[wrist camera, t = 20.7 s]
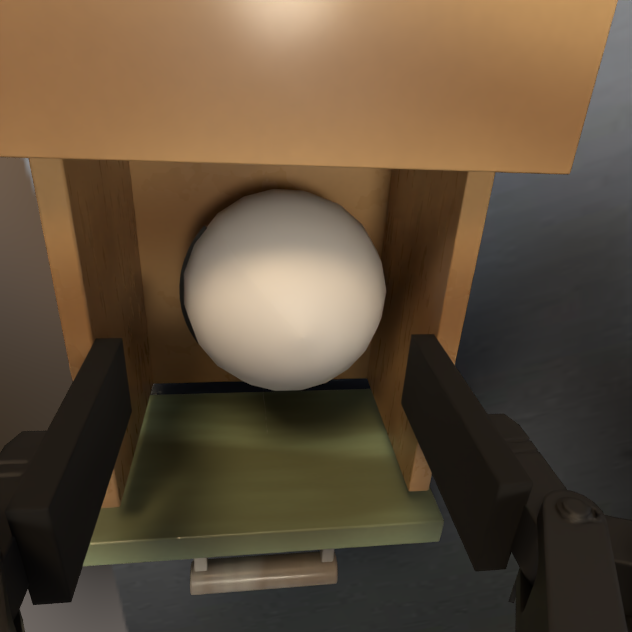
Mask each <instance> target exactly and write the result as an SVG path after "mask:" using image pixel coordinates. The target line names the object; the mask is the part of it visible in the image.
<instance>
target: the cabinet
mask: <svg viewBox="0 0 632 632" xmlns="http://www.w3.org/2000/svg"><path fill="white" fill-rule="evenodd" d="M617 1H618V0H0V157H13V158H46V159H78V160H111V161H144V162H177V163H209V164H242V165H275V166H308V167H341V168H373V169H406V170H439V171H472V172H504V173H537V174H570V172H571V168H572V164H573V161H574V157H575V154H576V150H577V146H578V143H579V139H580V135H581V132H582V128H583V125H584V121H585V117H586V114H587V110H588V106H589V103H590V99H591V96H592V92H593V88H594V85H595V81H596V77H597V74H598V70H599V67H600V63H601V59H602V56H603V52H604V48H605V45H606V41H607V38H608V34H609V30H610V27H611V23H612V19H613V16H614V12H615V9H616V5H617Z"/></svg>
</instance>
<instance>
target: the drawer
mask: <svg viewBox="0 0 632 632" xmlns="http://www.w3.org/2000/svg"><path fill="white" fill-rule="evenodd" d="M29 162H30V168H31V173H32V178H33V183H34V188H35V193H36V198H37V203H38V208H39V213H40V218H41V224H42V229H43V234H44V239H45V244H46V249H47V254H48V259H49V265H50V270H51V275H52V279H53V285H54V290H55V295H56V300H57V305H58V310H59V315H60V320H61V325H62V331H63V336H64V341H65V346H66V351H67V356H68V361H69V366H70V371H71V377H72V382H73V381H74V379H75V377H76V375H77V373H78V371H79V369H80V368H81V366H82V364H83V362H84V360H85V358H86V356H87V354H88V352H89V351H90V349H91V347H92V345H93V343H94V341H95V339H96V338H122V340H123V347H124V355H125V362H126V370H127V377H128V385H129V392H130V400H131V407H132V413H131V416H130V419H129V423H128V426H127V429H126V432H125V435H124V438H123V441H122V444H121V448H120V451H119V454H118V457H117V460H116V463H115V466H114V469H113V473H112V476H111V479H110V482H109V485H108V488H107V491H106V494H105V498H104V501H103V504H102V507H101V510H100V513H99V516H98V519H97V523H96V526H95V529H94V532H93V535H92V538H91V541H90V545H89V548H88V551H87V554H86V557H85V560H84V563H83V566H94V565H108V564H123V563H137V562H151V561H166V560H180V559H194V560H193V561H192V564H191V572H190V591H191V594H192V595H199V594H211V593H224V592H237V591H249V590H262V589H275V588H287V587H300V586H313V585H325V584H335V583H337V579H338V568H337V559H336V554H335V552H334V549H338V548H352V547H366V546H381V545H395V544H409V543H424V542H438V541H439V540H440V536H441V532H442V528H443V524H444V520H443V517H442V515H441V513H440V510H439V508H438V505H437V503H436V501H435V498H434V496H433V494H432V491H431V489H430V486H429V485H430V480H431V476H432V473H431V470H430V468H429V466H428V464H427V461H426V459H425V457H424V455H423V452H422V450H421V448H420V446H419V443H418V441H417V439H416V437H415V434H414V432H413V430H412V427H411V425H410V423H409V421H408V418H407V416H406V414H405V412H404V409H403V407H402V405H401V398H402V392H403V386H404V379H405V373H406V366H407V360H408V353H409V347H410V340H411V334H434V335H435V337H436V338H437V340H438V341H439V343H440V344H441V346H442V347H443V349H444V350H445V351H446V353H447V354H448V356H449V357H450V359H451V360H452V362H453V363H454V365H455V361H456V357H457V352H458V347H459V342H460V338H461V333H462V328H463V323H464V319H465V314H466V309H467V304H468V300H469V295H470V290H471V285H472V281H473V276H474V271H475V266H476V262H477V257H478V252H479V247H480V243H481V238H482V233H483V228H484V224H485V219H486V214H487V209H488V205H489V200H490V195H491V190H492V186H493V181H494V176H495V172H472V171H439V170H406V169H373V168H341V167H308V166H275V165H242V164H209V163H177V162H144V161H111V160H78V159H46V158H29ZM271 189H284V190H301V191H306V192H309V193H312V194H314V195H317V196H319V197H322V198H324V199H327V200H329V201H332V202H334V203H337V204H339V205H341V206H342V207H343V208H344V209H345V210H346V211H348V212H349V213H350V214H351V215H352V216H353V217H354V218H355V219H357V220H358V221H359V222H360V223H361V224H362V225H363V226H364V228H365V230H366V232H367V233H368V235H369V237H370V239H371V241H372V243H373V244H374V246H375V248H376V250H377V252H378V255H379V257H380V260H381V262H382V267H383V273H384V279H385V286H386V295H385V301H384V307H383V313H382V318H381V320H380V323H379V325H378V328H377V330H376V332H375V334H374V335H373V337H372V339H371V341H370V343H369V345H368V347H367V349H366V351H365V352H364V353H363V354H362V355H361V356H360V357H359V358H358V359H357V360H356V361H355V363H354V364H353V365H352V366H351V367H350V368H349V369H348V370H346V371H344V372H343V373H341V374H340V375H338V376H336V377H335V378H333V379H355V378H367V380H368V382H369V385H370V388H371V389H348V390H312V391H276V392H240V393H205V394H169V395H150V394H151V390H152V386H153V384H156V383H196V382H236V381H242V380H240V379H238V378H237V377H235V376H234V375H232V374H230V373H229V372H227V371H225V370H224V369H222V368H220V367H219V366H217V365H216V364H215V363H214V361H213V360H212V359H211V358H210V357H209V356H208V354H207V353H206V352H205V351H204V350H203V349H202V347H201V346H200V345H199V344H198V343H197V342H196V340H195V339H194V337H193V336H192V334H191V333H190V331H189V329H188V327H187V324H186V322H185V319H184V316H183V313H182V309H181V304H180V295H179V283H180V274H181V270H182V266H183V262H184V259H185V257H186V254H187V252H188V249H189V247H190V245H191V244H192V242H193V240H194V238H195V237H196V235H197V234H198V233H199V231H200V230H201V229H202V228H203V226H205V227H207V226H208V225H209V224H210V222H211V221H212V220H213V219H214V217H215V216H216V215H217V214H218V213H219V212H220V211H222V210H224V209H225V208H227V207H228V206H230V205H231V204H233V203H234V202H236V201H238V200H239V199H241V198H242V197H244V196H248V195H252V194H256V193H259V192H263V191H267V190H271ZM263 395H264V396H263ZM264 403H265V404H264ZM265 411H266V412H265ZM266 425H267V426H266ZM267 431H268V432H267ZM309 550H320V551H315V552H301V553H287V554H273V555H258V556H244V557H230V558H216V559H208V558H209V557H223V556H237V555H252V554H266V553H280V552H295V551H309Z"/></svg>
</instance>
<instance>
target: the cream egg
mask: <svg viewBox="0 0 632 632" xmlns="http://www.w3.org/2000/svg"><path fill="white" fill-rule="evenodd" d="M179 295H180V304H181V309H182V313H183V316H184V319H185V322H186V324H187V327H188V329H189V331H190V333H191V334H192V336H193V337H194V339H195V340H196V342H197V343H198V344H199V345H200V346H201V347H202V349H203V350H204V351H205V352H206V353H207V354H208V356H209V357H210V358H211V359H212V360H213V361H214V363H215V364H216V365H217V366H219V367H220V368H222V369H224V370H225V371H227V372H229V373H230V374H232V375H234V376H235V377H237V378H238V379H240V380H242V381H244V382H246V383H248V384H250V385H254V386H258V387H262V388H266V389H270V390H274V391H289V390H303V389H307V388H310V387H313V386H317V385H320V384H324V383H326V382H328V381H330V380H331V379H333V378H335V377H336V376H338V375H340V374H341V373H343V372H344V371H346V370H348V369H349V368H350V367H351V366H352V365H353V364H354V363H355V361H356V360H357V359H358V358H359V357H360V356H361V355H362V354H363V353H364V352H365V351H366V349H367V347H368V345H369V343H370V341H371V339H372V337H373V335H374V334H375V332H376V330H377V328H378V325H379V323H380V320H381V318H382V313H383V307H384V301H385V295H386V286H385V279H384V273H383V267H382V262H381V260H380V257H379V255H378V252H377V250H376V248H375V246H374V244H373V243H372V241H371V239H370V237H369V235H368V233H367V232H366V230H365V228H364V226H363V225H362V224H361V223H360V222H359V221H358V220H357V219H355V218H354V217H353V216H352V215H351V214H350V213H349V212H348V211H346V210H345V209H344V208H343V207H342V206H341V205H339V204H337V203H334V202H332V201H329V200H327V199H324V198H322V197H319V196H317V195H314V194H312V193H309V192H306V191H301V190H284V189H271V190H267V191H263V192H259V193H256V194H252V195H248V196H244V197H242V198H241V199H239V200H238V201H236V202H234V203H233V204H231V205H230V206H228V207H227V208H225V209H224V210H222V211H220V212H219V213H218V214H217V215H216V216H215V217H214V219H213V220H212V221H211V222H210V224H209V225H208V226H207V227H205V226H203V228H202V229H201V230H200V231H199V233H198V234H197V235H196V237H195V238H194V240H193V242H192V244H191V245H190V247H189V249H188V252H187V254H186V257H185V259H184V262H183V266H182V270H181V274H180V283H179ZM263 396H264V395H263ZM264 404H265V403H264ZM265 412H266V411H265ZM266 426H267V425H266ZM267 432H268V431H267Z"/></svg>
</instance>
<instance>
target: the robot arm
mask: <svg viewBox="0 0 632 632" xmlns="http://www.w3.org/2000/svg"><path fill="white" fill-rule="evenodd" d="M401 405H402V407H403V409H404V412H405V414H406V416H407V418H408V421H409V423H410V425H411V427H412V430H413V432H414V434H415V437H416V439H417V441H418V443H419V446H420V448H421V450H422V452H423V455H424V457H425V459H426V461H427V464H428V466H429V468H430V470H431V473H432V475H433V477H434V479H435V482H436V484H437V486H438V488H439V491H440V493H441V495H442V497H443V500H444V502H445V504H446V506H447V509H448V511H449V513H450V515H451V518H452V520H453V522H454V525H455V527H456V529H457V531H458V534H459V536H460V538H461V540H462V543H463V545H464V547H465V549H466V552H467V554H468V556H469V558H470V561H471V563H472V565H473V567H474V570H475V571H487V570H500V569H506V567H507V564H508V560H509V557H510V554H511V552H512V554H513V555H514V557H515V559H516V561H517V563H518V565H519V567H520V569H519V572H518V575H517V578H516V580H515V583H514V586H513V589H512V592H511V595H510V599H509V602H512V603H514V601H515V598H516V632H632V521H631V520H626V519H621V518H616V517H611V516H607V515H604V513H603V511H602V510H601V509H600V508H599V507H598V506H597V505H596V504H595V503H594V502H593V501H591V500H590V499H588V498H587V497H585V496H584V495H581V494H578V493H576V492H573V491H569V490H567V489H566V487H565V486H564V485H563V483H562V482H561V481H560V479H559V478H558V477H557V475H556V474H555V473H554V471H553V470H552V468H551V467H550V466H549V464H548V463H547V462H546V460H545V459H544V458H543V456H542V455H541V454H540V452H538V451H537V448H536V447H535V445H534V444H533V443H532V441H530V440H529V437H528V436H527V435H526V433H525V432H524V430H523V429H522V428H521V426H520V425H519V424H517V423H516V422H515V421H513V420H512V419H511V418H509V417H508V416H506V415H505V414H487V413H486V411H485V410H484V408H483V407H482V405H481V404H480V402H479V401H478V399H477V398H476V396H475V395H474V393H473V392H472V390H471V389H470V387H469V386H468V384H467V383H466V381H465V380H464V378H463V377H462V375H461V374H460V372H459V371H458V369H457V368H456V366H455V365H454V363H453V362H452V360H451V359H450V357H449V356H448V354H447V353H446V351H445V350H444V349H443V347H442V346H441V344H440V343H439V341H438V340H437V338H436V337H435V335H434V334H411V340H410V347H409V353H408V360H407V366H406V373H405V379H404V386H403V392H402V398H401ZM131 413H132V407H131V400H130V392H129V385H128V377H127V370H126V362H125V355H124V347H123V340H122V338H96V339H95V341H94V343H93V345H92V347H91V349H90V351H89V352H88V354H87V356H86V358H85V360H84V362H83V364H82V366H81V368H80V369H79V371H78V373H77V375H76V377H75V379H74V381H73V383H72V385H71V387H70V388H69V390H68V392H67V394H66V396H65V398H64V400H63V402H62V404H61V406H60V407H59V409H58V411H57V413H56V415H55V417H54V419H53V421H52V422H51V424H50V426H49V428H48V430H47V431H23V432H21V433H20V434H18V435H17V436H16V437H15V438H14V439H12V440H11V441H10V442H9V443H7V444H6V445H5V446H4V448H3V449H2V451H1V453H0V632H25V630H24V624H23V619H22V616H21V612H20V606H21V604H22V601H23V599H24V596H25V594H26V591H27V589H28V590H29V593H30V596H31V600H32V603H33V605H37V604H38V605H39V604H52V603H65V602H71V601H72V598H73V595H74V591H75V588H76V585H77V582H78V578H79V576H80V573H81V570H82V566H83V563H84V560H85V557H86V554H87V551H88V548H89V545H90V541H91V538H92V535H93V532H94V529H95V526H96V523H97V519H98V516H99V513H100V510H101V507H102V504H103V501H104V498H105V494H106V491H107V488H108V485H109V482H110V479H111V476H112V473H113V469H114V466H115V463H116V460H117V457H118V454H119V451H120V448H121V444H122V441H123V438H124V435H125V432H126V429H127V426H128V423H129V419H130V416H131Z"/></svg>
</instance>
